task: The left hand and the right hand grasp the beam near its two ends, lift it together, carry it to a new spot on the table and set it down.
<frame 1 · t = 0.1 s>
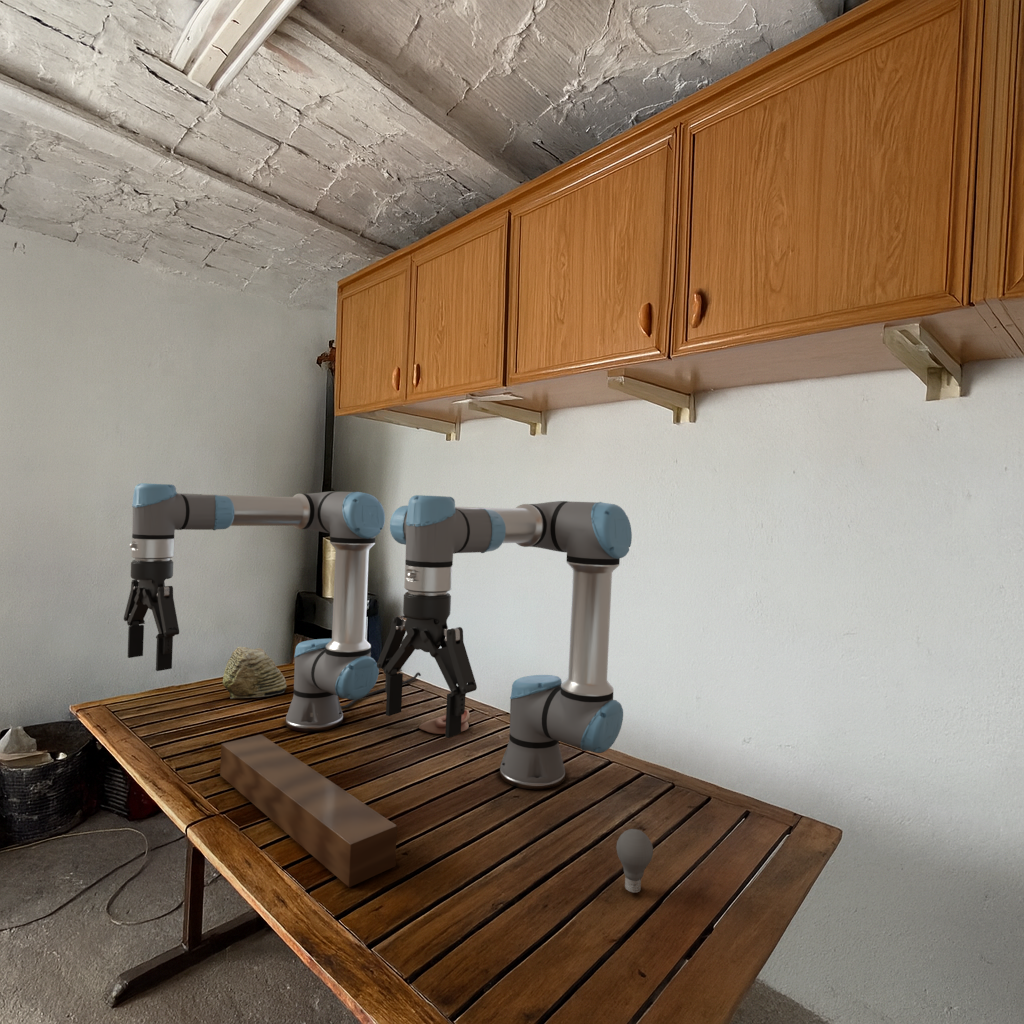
left hand: (149, 663, 129), 28 cm above the table, tool pointing down, fingers open, 13 cm apart
right hand: (422, 724, 101), 28 cm above the table, tool pointing down, fingers open, 13 cm apart
fossil: (254, 694, 198), on the table
anatomical model: (444, 727, 177), on the table
light bulb: (632, 891, 106), on the table
beam: (296, 815, 126), on the table
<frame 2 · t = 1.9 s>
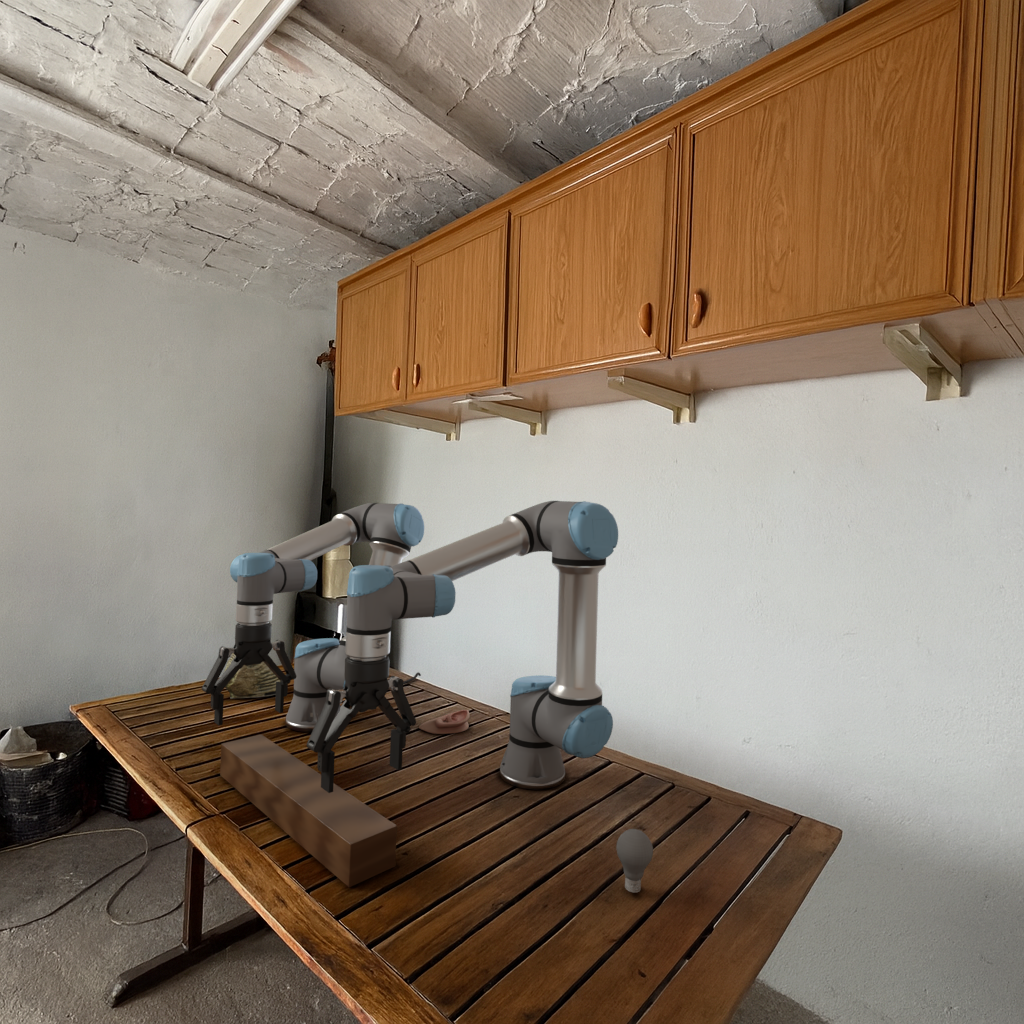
left hand: (249, 717, 141), 13 cm above the table, tool pointing down, fingers open, 13 cm apart
right hand: (362, 778, 109), 15 cm above the table, tool pointing down, fingers open, 13 cm apart
nothing on the table moved.
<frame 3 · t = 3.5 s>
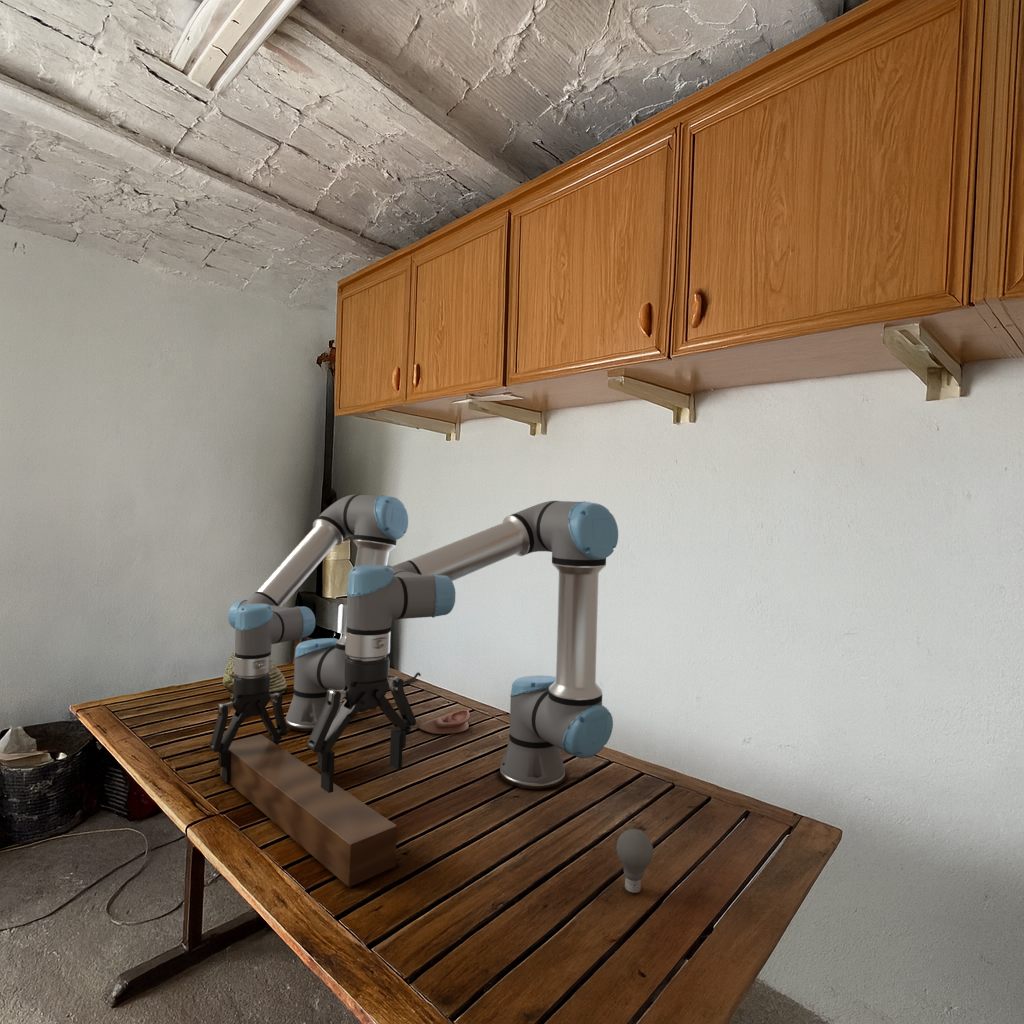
left hand: (248, 773, 142), 1 cm above the table, tool pointing down, fingers closed on beam, 9 cm apart
right hand: (362, 778, 109), 15 cm above the table, tool pointing down, fingers open, 13 cm apart
beam: (296, 815, 126), on the table, touching left hand
everything else where it was.
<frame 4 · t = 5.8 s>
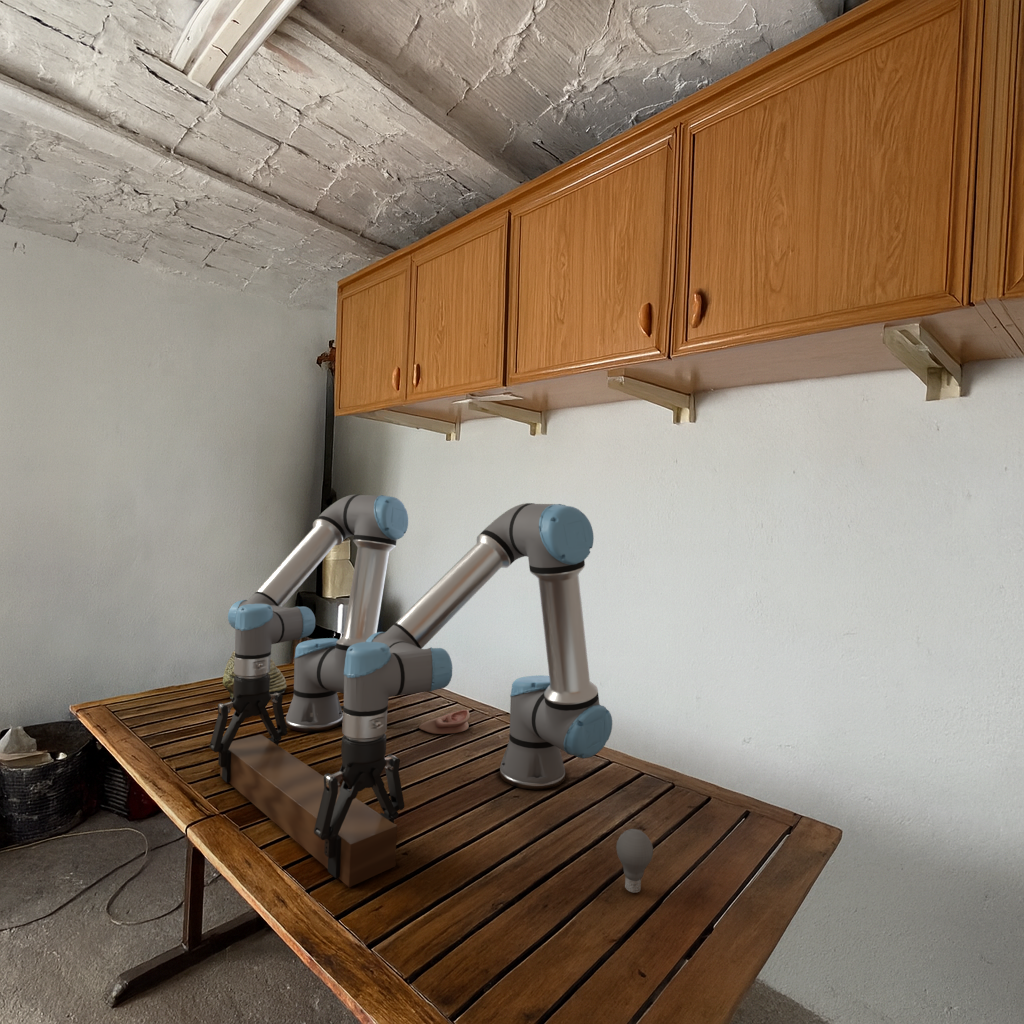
left hand: (248, 773, 142), 1 cm above the table, tool pointing down, fingers closed on beam, 9 cm apart
right hand: (359, 862, 110), 1 cm above the table, tool pointing down, fingers closed on beam, 9 cm apart
beam: (296, 815, 126), on the table, touching left hand, right hand
everything else where it was.
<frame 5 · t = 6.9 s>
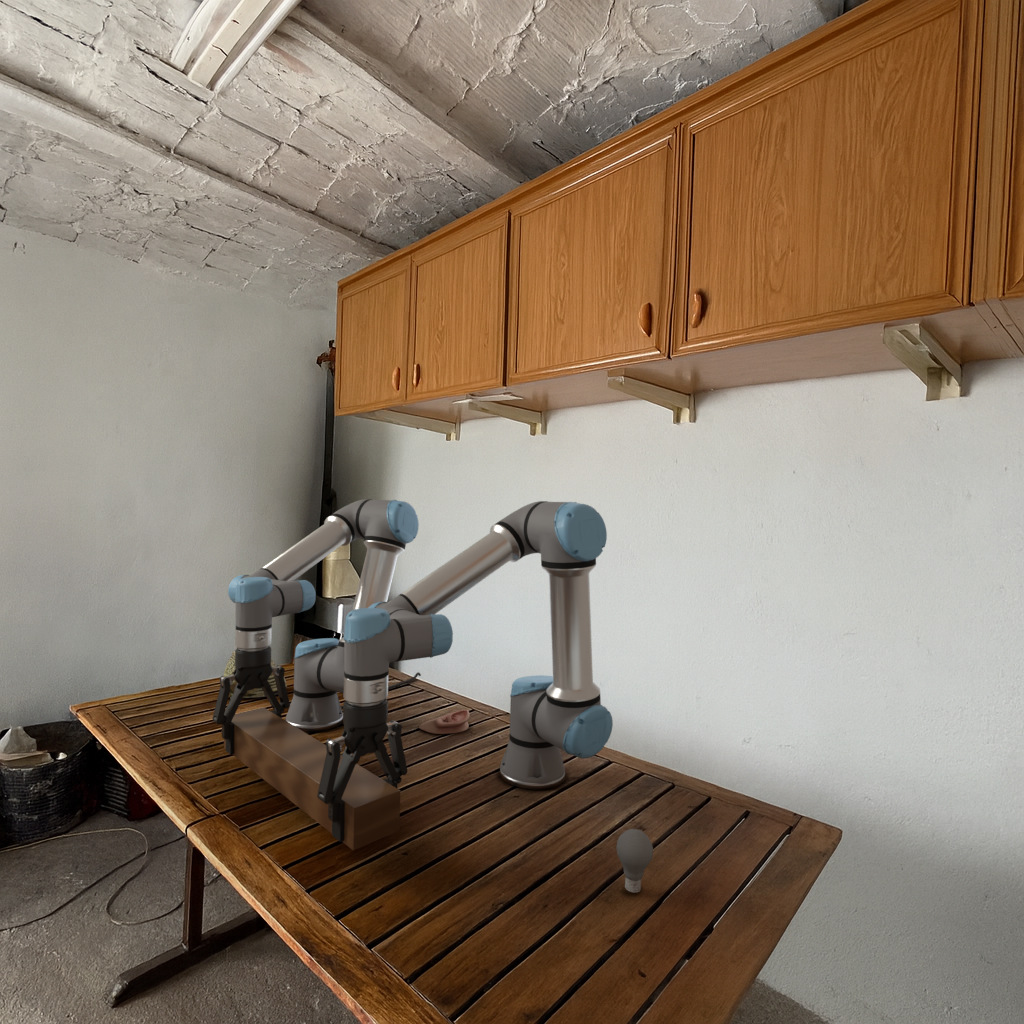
left hand: (252, 746, 142), 7 cm above the table, tool pointing down, fingers closed on beam, 9 cm apart
right hand: (363, 827, 110), 7 cm above the table, tool pointing down, fingers closed on beam, 9 cm apart
beam: (300, 784, 126), point 6 cm above the table, touching left hand, right hand
everything else where it was.
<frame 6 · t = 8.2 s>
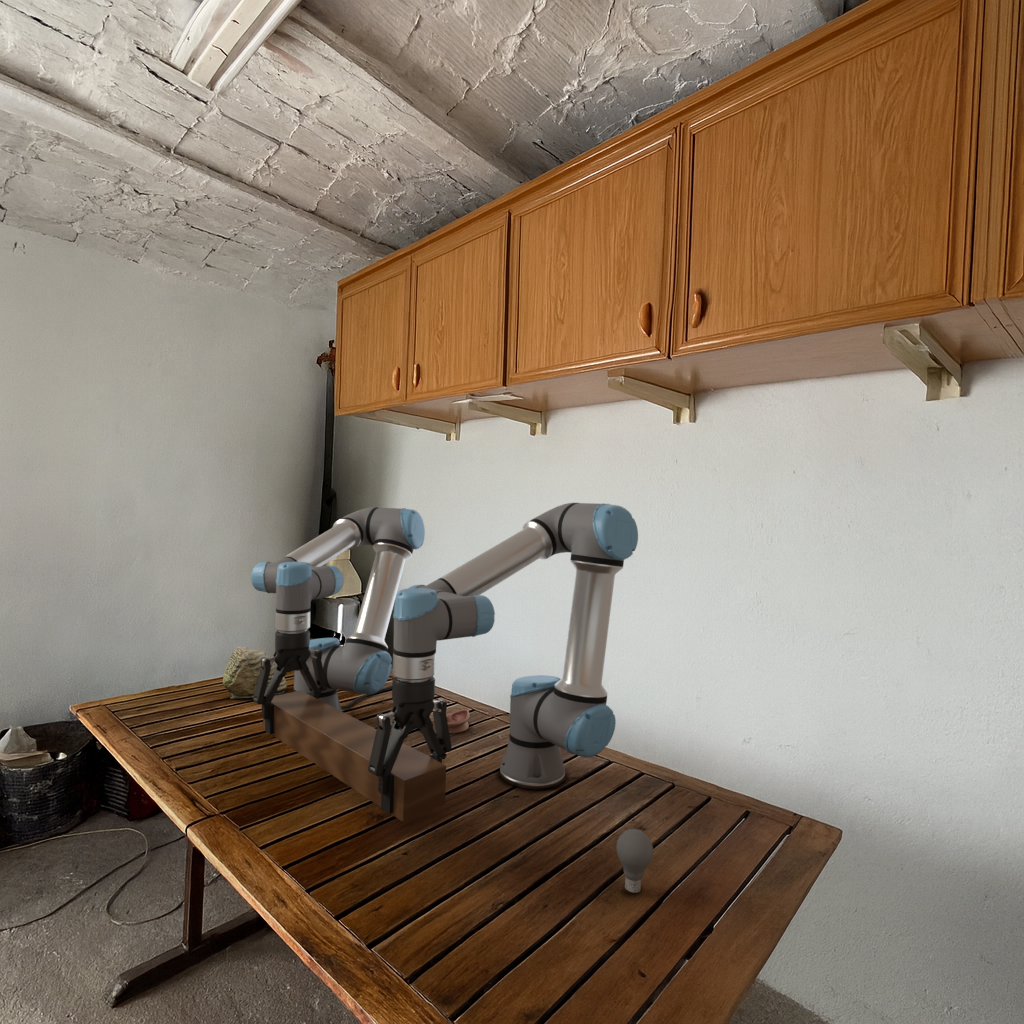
left hand: (290, 727, 145), 10 cm above the table, tool pointing down, fingers closed on beam, 9 cm apart
right hand: (410, 801, 113), 10 cm above the table, tool pointing down, fingers closed on beam, 9 cm apart
beam: (342, 762, 129), point 9 cm above the table, touching left hand, right hand
everything else where it was.
when the left hand's fingers open (2 cm above the table, at t = 10.7 s): beam drops 1 cm, on the table.
when the right hand's fingers open (2 cm above the table, at t = 10.7 s): beam drops 1 cm, on the table.
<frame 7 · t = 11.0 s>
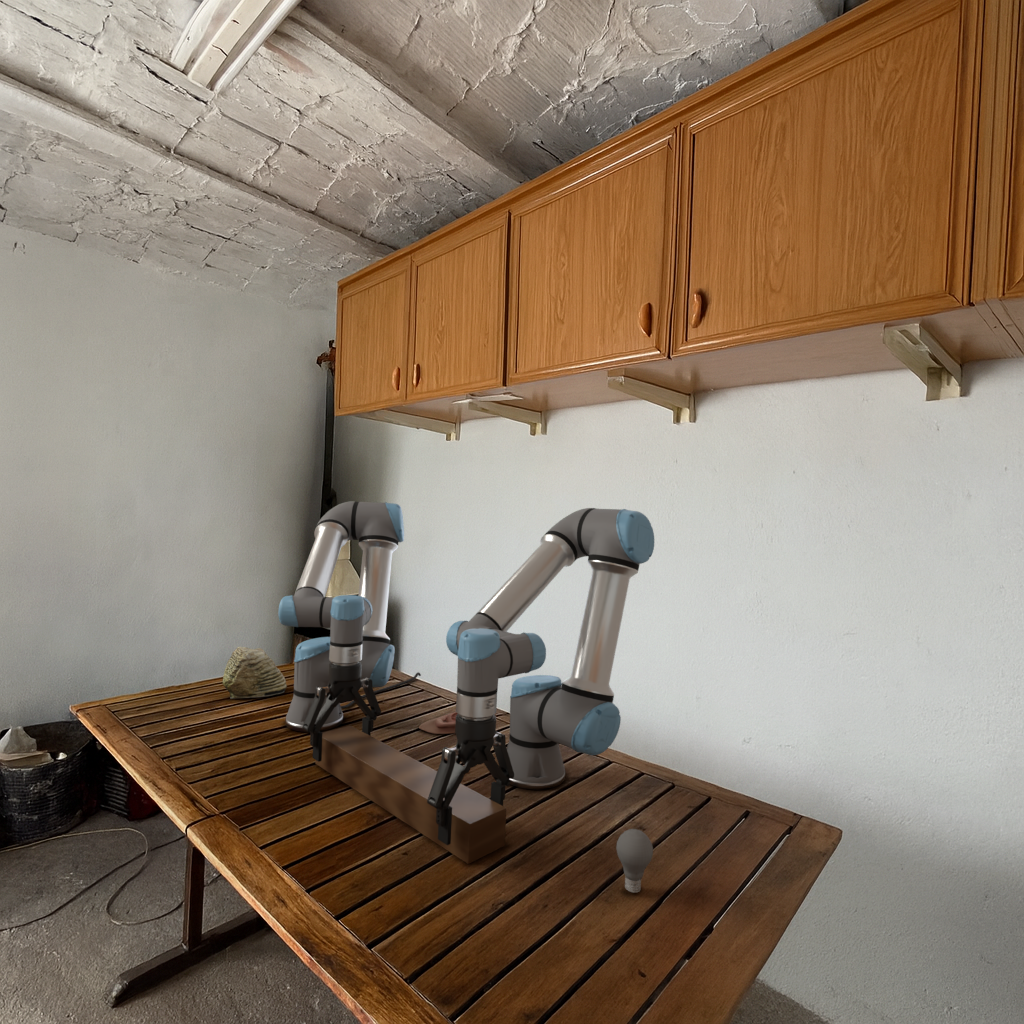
left hand: (342, 752, 150), 3 cm above the table, tool pointing down, fingers open, 12 cm apart
right hand: (471, 829, 117), 3 cm above the table, tool pointing down, fingers open, 12 cm apart
beam: (398, 799, 134), on the table
everything else where it was.
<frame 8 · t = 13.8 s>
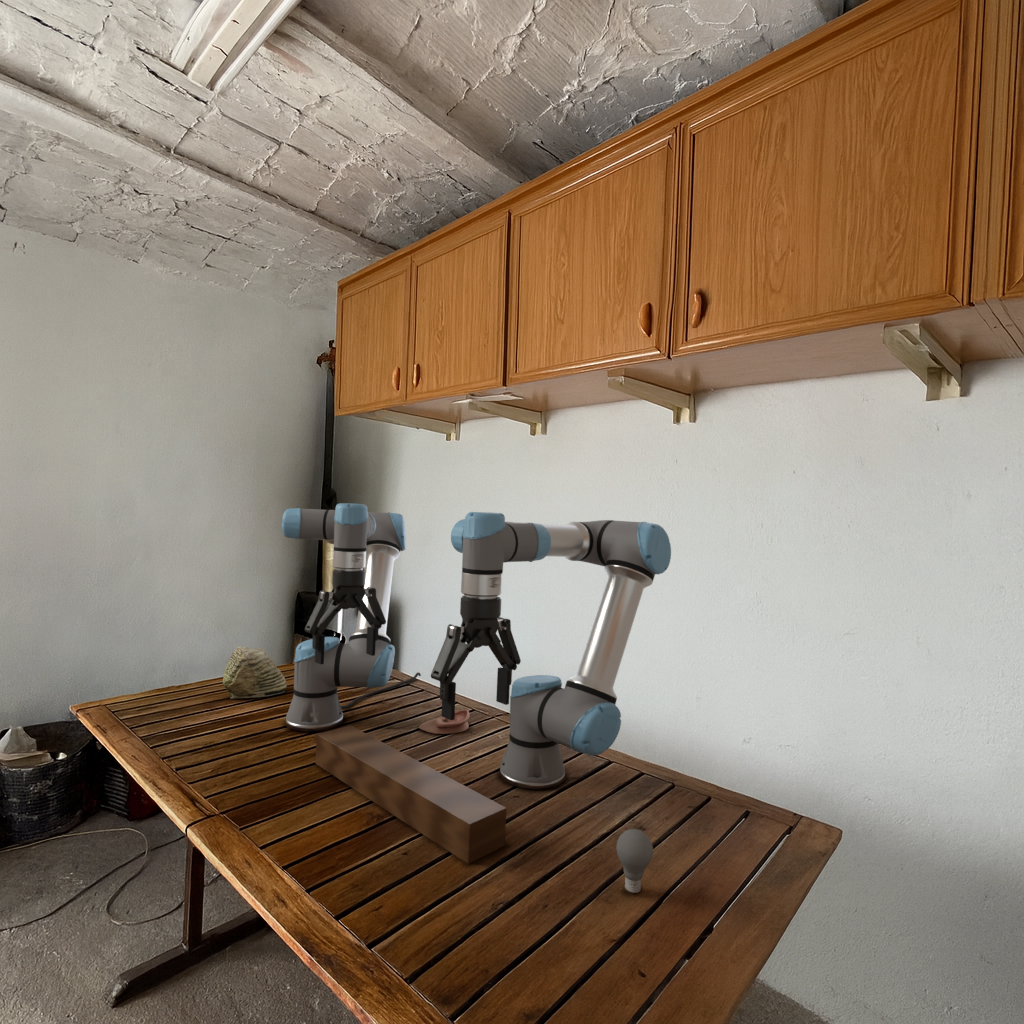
left hand: (345, 658, 149), 25 cm above the table, tool pointing down, fingers open, 13 cm apart
right hand: (476, 710, 117), 25 cm above the table, tool pointing down, fingers open, 13 cm apart
nothing on the table moved.
at the end: beam inside the target area (0.2 cm from its centre), on the table; beam tilted 0°; beam never tilted more than 2° during the clip; both hands held the beam at the same time; the left hand is holding nothing; the right hand is holding nothing; beam at rest at the end (0.0 cm/s) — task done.
